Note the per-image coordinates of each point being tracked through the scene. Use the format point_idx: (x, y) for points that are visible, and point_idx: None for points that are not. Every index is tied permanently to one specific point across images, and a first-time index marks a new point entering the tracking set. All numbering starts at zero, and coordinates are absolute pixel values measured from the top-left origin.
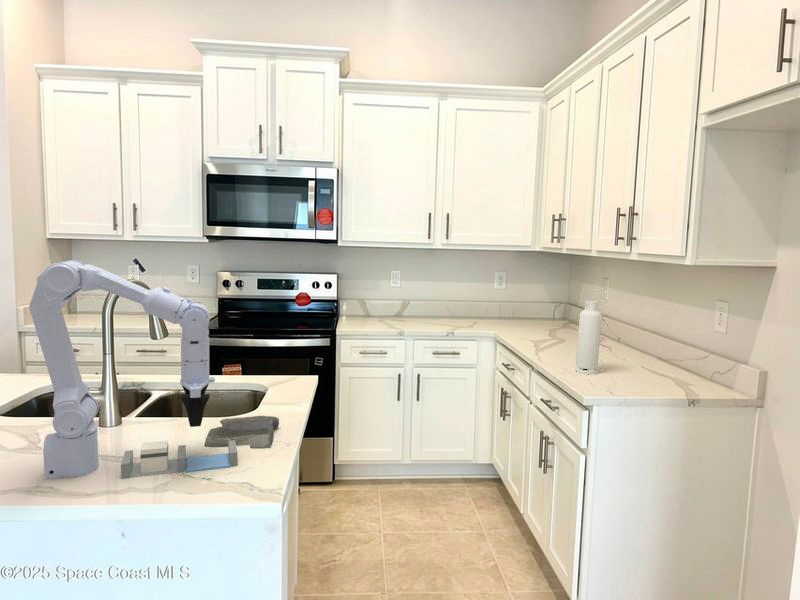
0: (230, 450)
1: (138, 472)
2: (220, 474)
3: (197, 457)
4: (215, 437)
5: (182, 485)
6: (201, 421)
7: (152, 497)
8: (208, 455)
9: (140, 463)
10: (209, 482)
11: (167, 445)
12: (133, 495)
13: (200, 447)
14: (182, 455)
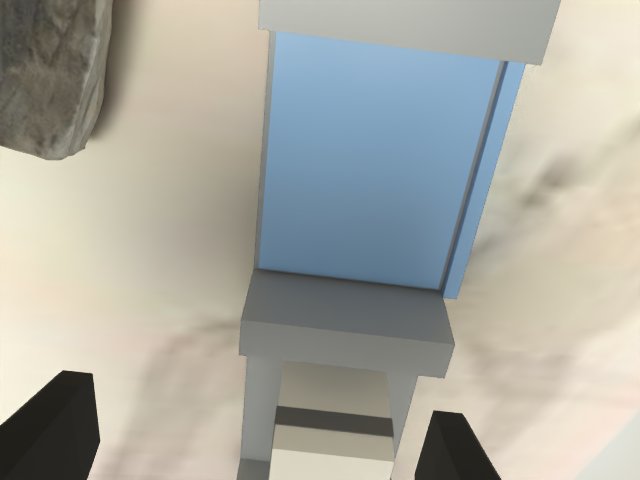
0: (489, 51)
1: None
2: (534, 106)
3: (283, 217)
4: (65, 95)
5: (553, 301)
6: (481, 448)
7: (594, 407)
8: (273, 152)
9: (251, 438)
10: (604, 182)
11: (336, 448)
12: (529, 455)
13: None
14: (412, 352)
